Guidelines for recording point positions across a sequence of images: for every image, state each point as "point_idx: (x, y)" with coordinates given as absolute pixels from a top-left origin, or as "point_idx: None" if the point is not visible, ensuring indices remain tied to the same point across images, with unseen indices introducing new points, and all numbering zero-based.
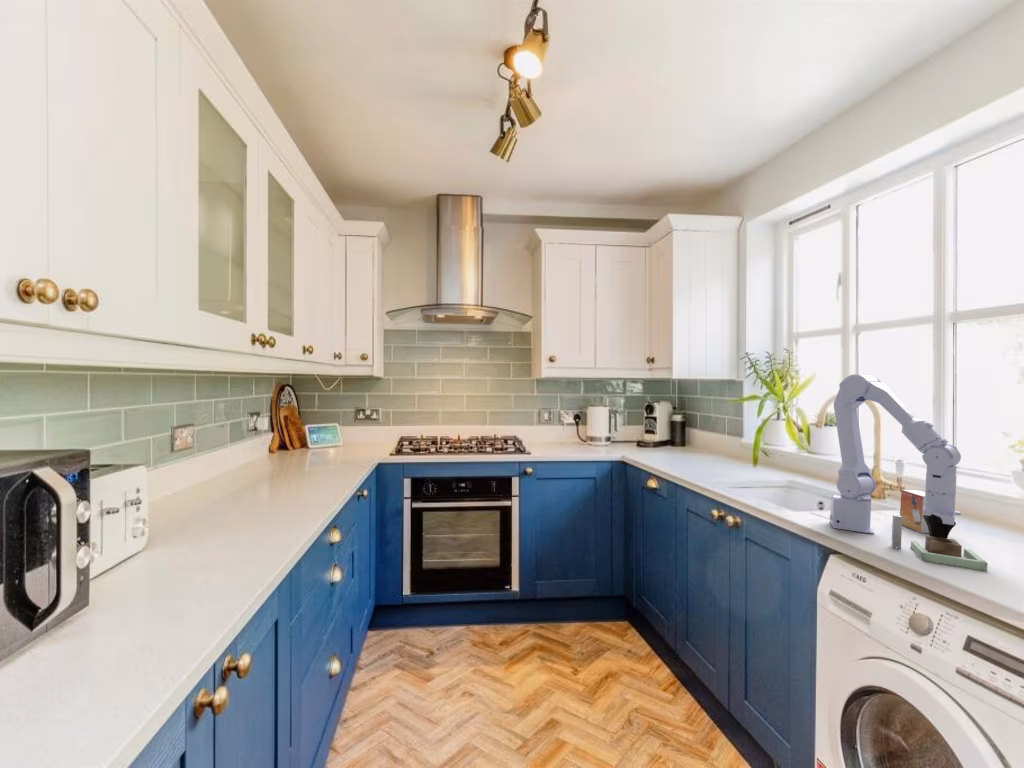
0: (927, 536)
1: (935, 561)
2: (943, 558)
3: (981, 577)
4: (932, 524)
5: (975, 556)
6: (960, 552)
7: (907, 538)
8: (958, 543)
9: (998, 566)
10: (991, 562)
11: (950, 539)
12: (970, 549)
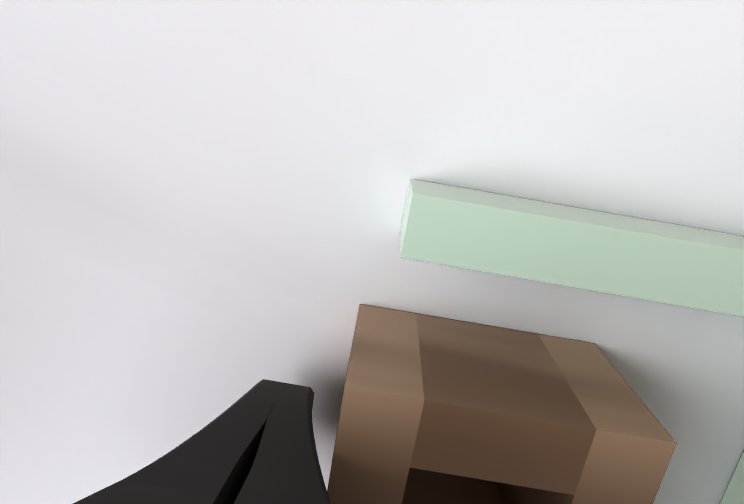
0: None
1: None
2: None
3: None
4: None
5: (730, 292)
6: (630, 397)
7: (8, 494)
8: (553, 425)
9: (686, 31)
10: (547, 32)
11: (375, 436)
12: (418, 195)
